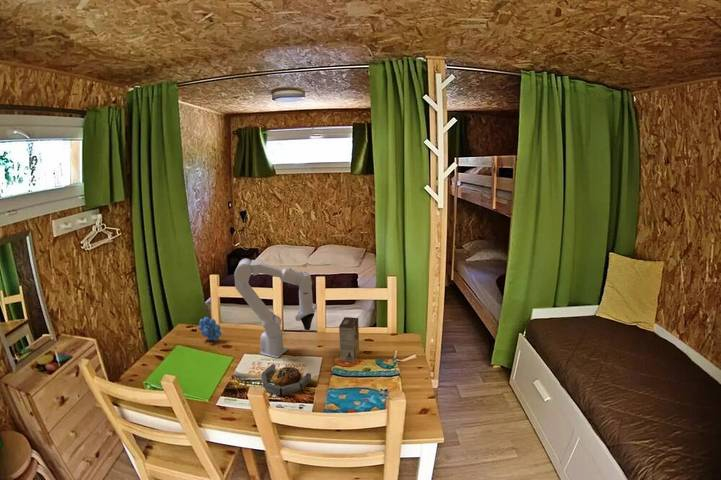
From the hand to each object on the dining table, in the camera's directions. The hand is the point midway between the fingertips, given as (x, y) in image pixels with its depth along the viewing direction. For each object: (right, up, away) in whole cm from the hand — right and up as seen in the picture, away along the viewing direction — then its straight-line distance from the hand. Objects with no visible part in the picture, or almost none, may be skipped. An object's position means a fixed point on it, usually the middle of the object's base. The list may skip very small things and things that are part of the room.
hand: (307, 329), depth 154 cm
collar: (-6, -15, -23) cm, 28 cm away
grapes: (-48, -8, +10) cm, 49 cm away
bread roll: (-5, -14, -20) cm, 25 cm away
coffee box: (+19, -11, -5) cm, 22 cm away
